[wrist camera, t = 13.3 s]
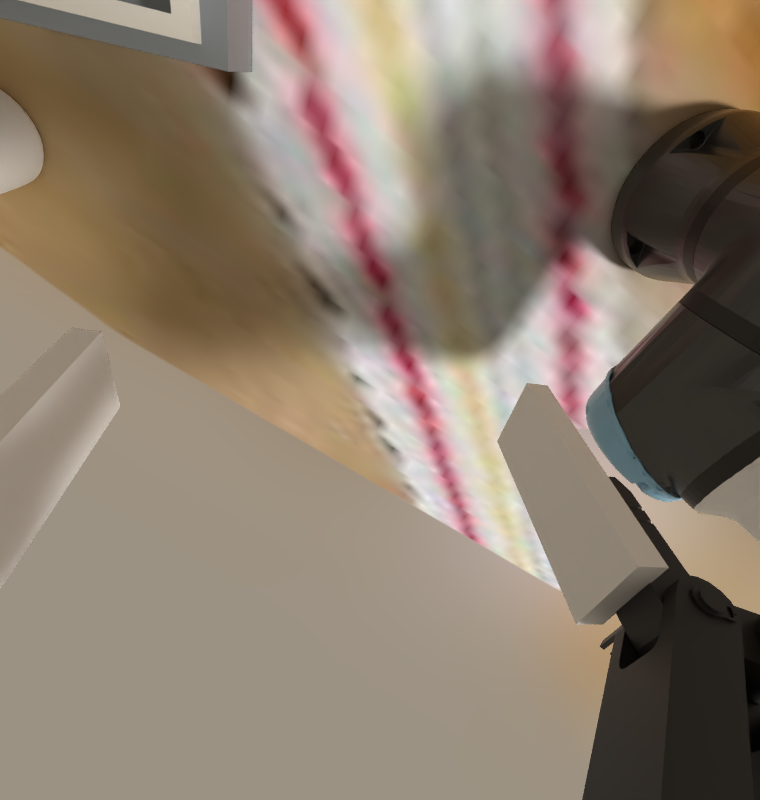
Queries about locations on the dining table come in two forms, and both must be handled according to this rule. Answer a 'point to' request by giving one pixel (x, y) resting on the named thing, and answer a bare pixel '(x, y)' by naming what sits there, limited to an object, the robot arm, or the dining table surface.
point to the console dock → (151, 26)
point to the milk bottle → (18, 146)
